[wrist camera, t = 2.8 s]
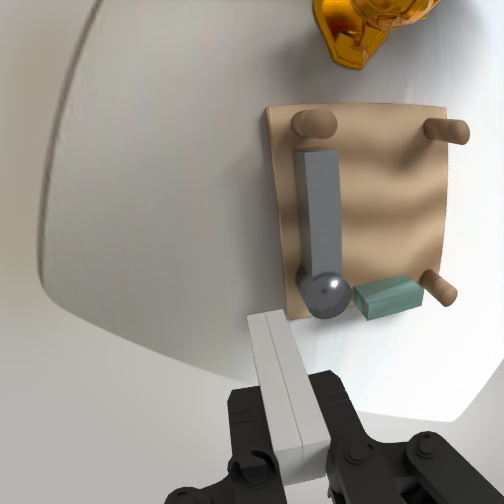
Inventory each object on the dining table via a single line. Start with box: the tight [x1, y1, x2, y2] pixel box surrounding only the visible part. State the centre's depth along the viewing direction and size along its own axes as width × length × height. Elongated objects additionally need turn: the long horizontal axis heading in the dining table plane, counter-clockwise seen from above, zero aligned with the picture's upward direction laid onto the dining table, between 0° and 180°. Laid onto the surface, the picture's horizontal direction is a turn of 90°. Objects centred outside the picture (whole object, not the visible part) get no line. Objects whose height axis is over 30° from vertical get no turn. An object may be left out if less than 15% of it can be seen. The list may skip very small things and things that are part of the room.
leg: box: [292, 146, 352, 319], centre depth 27 cm, size 15×4×4 cm, turn 7°
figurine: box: [313, 0, 440, 70], centre depth 18 cm, size 8×11×12 cm
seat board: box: [266, 103, 470, 321], centre depth 28 cm, size 22×20×6 cm
